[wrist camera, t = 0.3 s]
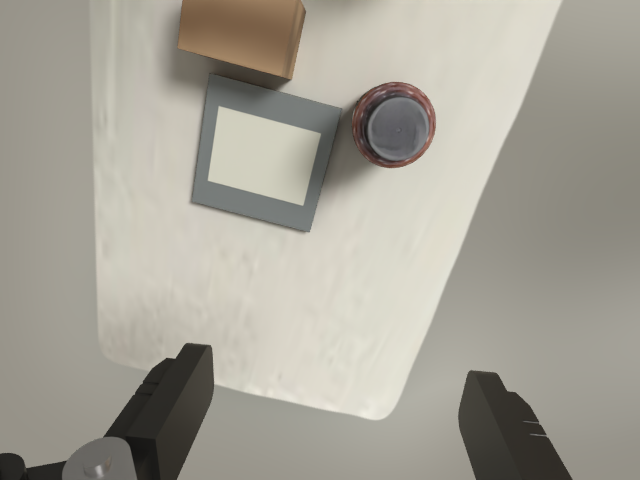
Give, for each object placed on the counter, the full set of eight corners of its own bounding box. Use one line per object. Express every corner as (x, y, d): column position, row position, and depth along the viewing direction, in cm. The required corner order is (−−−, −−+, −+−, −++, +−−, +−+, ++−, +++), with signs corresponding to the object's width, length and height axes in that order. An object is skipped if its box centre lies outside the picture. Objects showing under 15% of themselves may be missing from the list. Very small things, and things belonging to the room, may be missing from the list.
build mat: (213, 73, 35) (209, 73, 34) (341, 108, 35) (341, 108, 34) (195, 198, 39) (191, 201, 38) (310, 229, 39) (309, 232, 38)
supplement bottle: (410, 76, 34) (439, 66, 23) (422, 143, 36) (454, 163, 25) (344, 95, 35) (343, 95, 24) (359, 160, 37) (364, 186, 26)
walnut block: (214, -14, 33) (186, -37, 27) (306, 11, 33) (297, -6, 27) (205, 56, 34) (177, 48, 29) (291, 79, 35) (281, 76, 29)
